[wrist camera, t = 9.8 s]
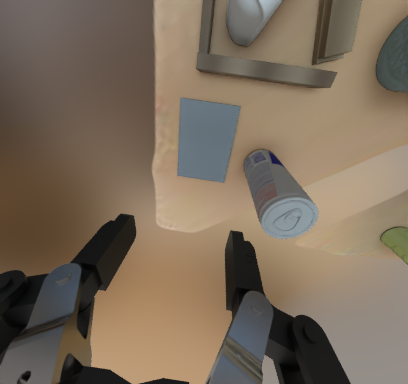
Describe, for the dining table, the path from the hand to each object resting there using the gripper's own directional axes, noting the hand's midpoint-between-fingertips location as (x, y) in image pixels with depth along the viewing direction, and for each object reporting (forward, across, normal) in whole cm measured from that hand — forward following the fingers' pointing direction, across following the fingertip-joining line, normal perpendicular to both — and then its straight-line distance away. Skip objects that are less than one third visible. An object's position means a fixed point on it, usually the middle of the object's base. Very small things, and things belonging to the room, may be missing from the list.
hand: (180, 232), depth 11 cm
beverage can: (+21, -10, +2) cm, 23 cm away
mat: (+21, 0, 0) cm, 21 cm away
